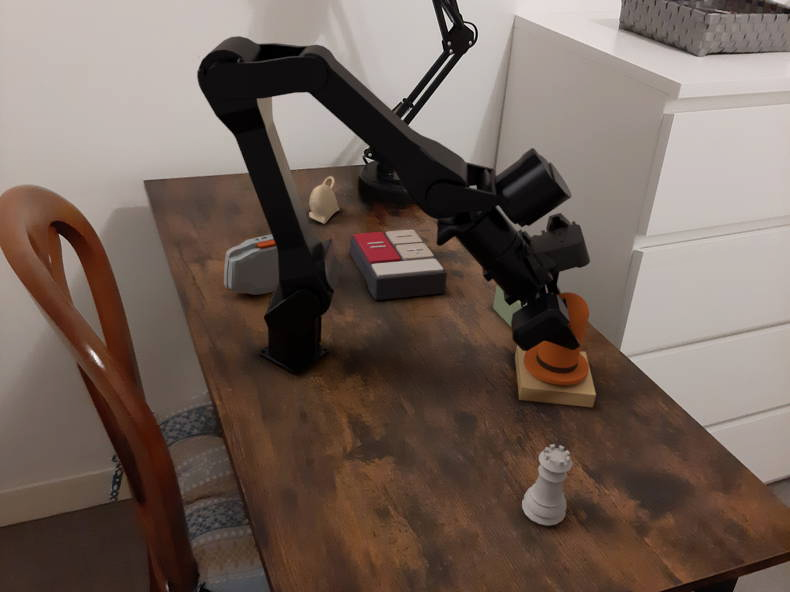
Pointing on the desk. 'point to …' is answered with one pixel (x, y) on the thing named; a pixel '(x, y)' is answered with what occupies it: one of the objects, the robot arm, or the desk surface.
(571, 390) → the stand
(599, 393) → the desk surface
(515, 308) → the sage box
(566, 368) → the hat
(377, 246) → the calculator
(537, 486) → the rook chess piece
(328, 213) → the decorative ornament
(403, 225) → the desk surface
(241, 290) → the handheld gaming console
